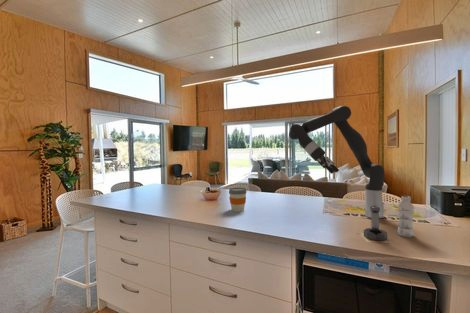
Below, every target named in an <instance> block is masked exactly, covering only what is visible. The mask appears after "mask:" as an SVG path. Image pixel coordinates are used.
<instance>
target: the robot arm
mask: <svg viewBox="0 0 470 313" xmlns="http://www.w3.org/2000/svg"><path fill="white" fill-rule="evenodd" d="M351 115H352V110H351V108H350V107H349V106H347V105H340V106H338V107H334V108H332V110H331V111H330V112H329V113H326V114H323V115H321V116H317V117H313V118H311V119H309V120H306V121H304V122H303V123H301V124H299V123H292V124H291V126H290V127H289V128H290V129H289V132H288V136H289V138H290V139H291V140H298V143H299V146H300V147H302V149H303V150H304V151H305V152H306V153H307V154H308V155H309V157H310V158H312V160H314V162H317V163H318V164H320V166H321V167H322V168H323V169H326V170H327V171H328V172H329V173H330V174H331V175H332V174H334V173H338V172H339V171H340V169H339V168H338V167H337V166H336V165H335V162H334V161H333V160H332V159H331V158H330V157H328V156H325V155H326V151H325V150H324V149H323V148H322V147H321V146H320V145H319V144H318V143H317V142H315V141H314V140H313V139H312V138H311V136H309V135H308V134H309V133H311V132H314V131H317V130H320V129H321V128H323V127H326V126H328V125H331V124H334V125H335V126H336V128H337V129H338V130H339V131H340V133H341V135H342V136H343V139H344V140H345V142H346V144H347V145H348V148H349V149H350V151H351V152H352V154H353V155H354V157H355V158H356V161H357V162H358V164H359V166H360V169H361V172H362V173H363V175H364V176H365V177H367V178H369V181H368V183H366V184H365V196H364V197H365V201H364V202H365V205H364V206H365V207H364V209H365V211H364V212H365V213H364V214H365V217H367V218H370V219H371V210H370V207H371V206H377V207H380V211H379V219H382V218H383V219H384V217H385V216H384V207H385V206H384V201H383V187H384V185H385V168H384V167H383V165H380V164H377V163H373V162H372V160H371V159H370V157H369V154H368V146H367V145H368V144H367V143H366V141H365V139H364V137H363V136H362V134H360V133H359V132H358V131H357V130H356V129H355V128H354V127H352V125H351V124H350V123H349V122H348V119H350V118H351Z"/></svg>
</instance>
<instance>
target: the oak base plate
mask: <svg viewBox="0 0 470 313" xmlns="http://www.w3.org/2000/svg"><path fill="white" fill-rule="evenodd" d="M356 234H357V235H359V236H360V237H361V238H362V239H363V240H365V241H366V242H367V243H381V244H385V243H386V244H387V243H389V244H396V242H395V241H394V240H392V239H391V238H390V237H388V236H387V240H386V241H373V240H369V239H367V238H366V237H364V232H357V233H356Z"/></svg>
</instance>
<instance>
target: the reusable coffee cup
mask: <svg viewBox="0 0 470 313" xmlns="http://www.w3.org/2000/svg"><path fill="white" fill-rule="evenodd" d="M228 194H229V203H230V207H231V211H232V212H243V211H245V206H246V200H247V188H245V187H231V188H229V190H228Z"/></svg>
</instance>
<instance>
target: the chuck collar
mask: <svg viewBox="0 0 470 313" xmlns="http://www.w3.org/2000/svg"><path fill="white" fill-rule="evenodd" d="M363 233H364V237H366V238H367V239H369V240H373V241H386V240H387V237H388V232H387V231H385V230H383V229H380V228H379V233H373V232H371V227H370V228H368V227H367V228H365V229H363Z"/></svg>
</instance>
